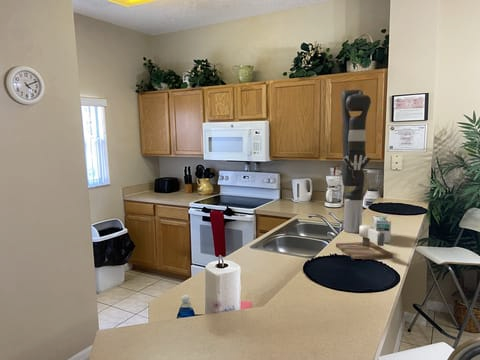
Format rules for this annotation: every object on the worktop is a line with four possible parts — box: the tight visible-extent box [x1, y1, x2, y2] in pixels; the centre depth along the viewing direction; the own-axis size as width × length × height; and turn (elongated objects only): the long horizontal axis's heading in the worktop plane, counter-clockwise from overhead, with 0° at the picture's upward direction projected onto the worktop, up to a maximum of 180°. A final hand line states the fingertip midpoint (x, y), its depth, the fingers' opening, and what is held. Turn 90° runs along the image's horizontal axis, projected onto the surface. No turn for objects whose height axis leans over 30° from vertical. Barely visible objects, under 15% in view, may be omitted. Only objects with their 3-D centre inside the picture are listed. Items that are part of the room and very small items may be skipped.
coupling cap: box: [358, 224, 385, 247], centre depth 149 cm, size 17×6×5 cm, turn 6°
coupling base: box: [335, 237, 394, 260], centre depth 151 cm, size 18×17×6 cm
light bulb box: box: [372, 215, 392, 244], centre depth 168 cm, size 11×7×11 cm, turn 168°
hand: (355, 178), depth 159 cm, fingers closed
